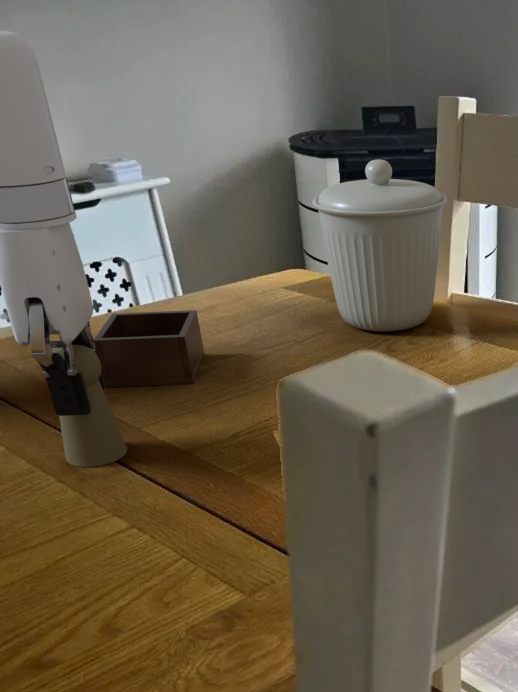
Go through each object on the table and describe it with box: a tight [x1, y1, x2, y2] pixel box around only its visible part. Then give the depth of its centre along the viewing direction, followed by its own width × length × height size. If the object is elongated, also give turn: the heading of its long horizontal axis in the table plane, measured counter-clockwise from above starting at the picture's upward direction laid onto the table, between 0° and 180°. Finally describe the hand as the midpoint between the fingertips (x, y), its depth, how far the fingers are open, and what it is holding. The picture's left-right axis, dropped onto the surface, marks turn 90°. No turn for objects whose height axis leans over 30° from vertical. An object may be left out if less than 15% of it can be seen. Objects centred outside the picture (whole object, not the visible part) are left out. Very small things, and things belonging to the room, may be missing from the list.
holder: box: [93, 309, 205, 389], centre depth 103 cm, size 11×11×6 cm
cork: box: [52, 345, 128, 468], centre depth 82 cm, size 6×6×11 cm
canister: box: [311, 159, 448, 333], centre depth 114 cm, size 18×18×21 cm
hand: (81, 400), depth 82 cm, fingers closed on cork, 5 cm apart
